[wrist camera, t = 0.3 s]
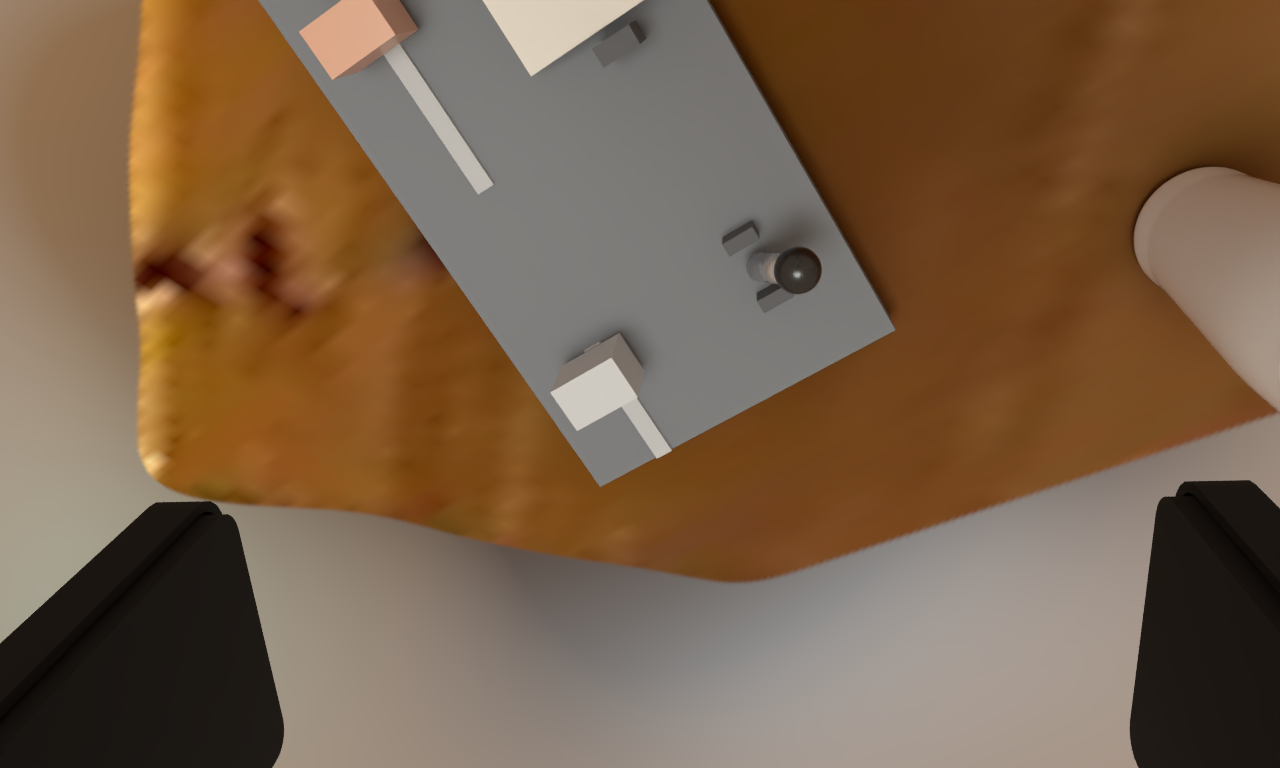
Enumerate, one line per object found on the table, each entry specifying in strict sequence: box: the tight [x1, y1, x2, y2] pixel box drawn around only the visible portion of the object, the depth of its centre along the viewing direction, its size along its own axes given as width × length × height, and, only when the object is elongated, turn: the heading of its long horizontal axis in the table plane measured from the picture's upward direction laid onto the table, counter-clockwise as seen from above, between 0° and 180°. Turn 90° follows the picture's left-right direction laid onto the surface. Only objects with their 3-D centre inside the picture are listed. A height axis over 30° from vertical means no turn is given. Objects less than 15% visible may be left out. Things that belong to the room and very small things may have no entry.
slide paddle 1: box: [299, 0, 419, 80], centre depth 40 cm, size 2×3×3 cm, turn 123°
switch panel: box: [259, 0, 895, 487], centre depth 43 cm, size 25×15×5 cm, turn 32°
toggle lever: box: [746, 246, 822, 294], centre depth 41 cm, size 2×2×5 cm
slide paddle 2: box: [550, 333, 644, 431], centre depth 44 cm, size 2×3×3 cm, turn 123°
